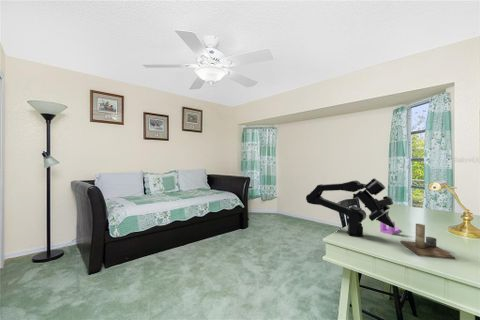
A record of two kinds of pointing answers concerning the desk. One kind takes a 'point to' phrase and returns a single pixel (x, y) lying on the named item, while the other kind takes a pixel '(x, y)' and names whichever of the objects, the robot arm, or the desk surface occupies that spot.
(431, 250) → the brown board
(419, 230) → the crank handle
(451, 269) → the desk surface
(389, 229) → the bracket
